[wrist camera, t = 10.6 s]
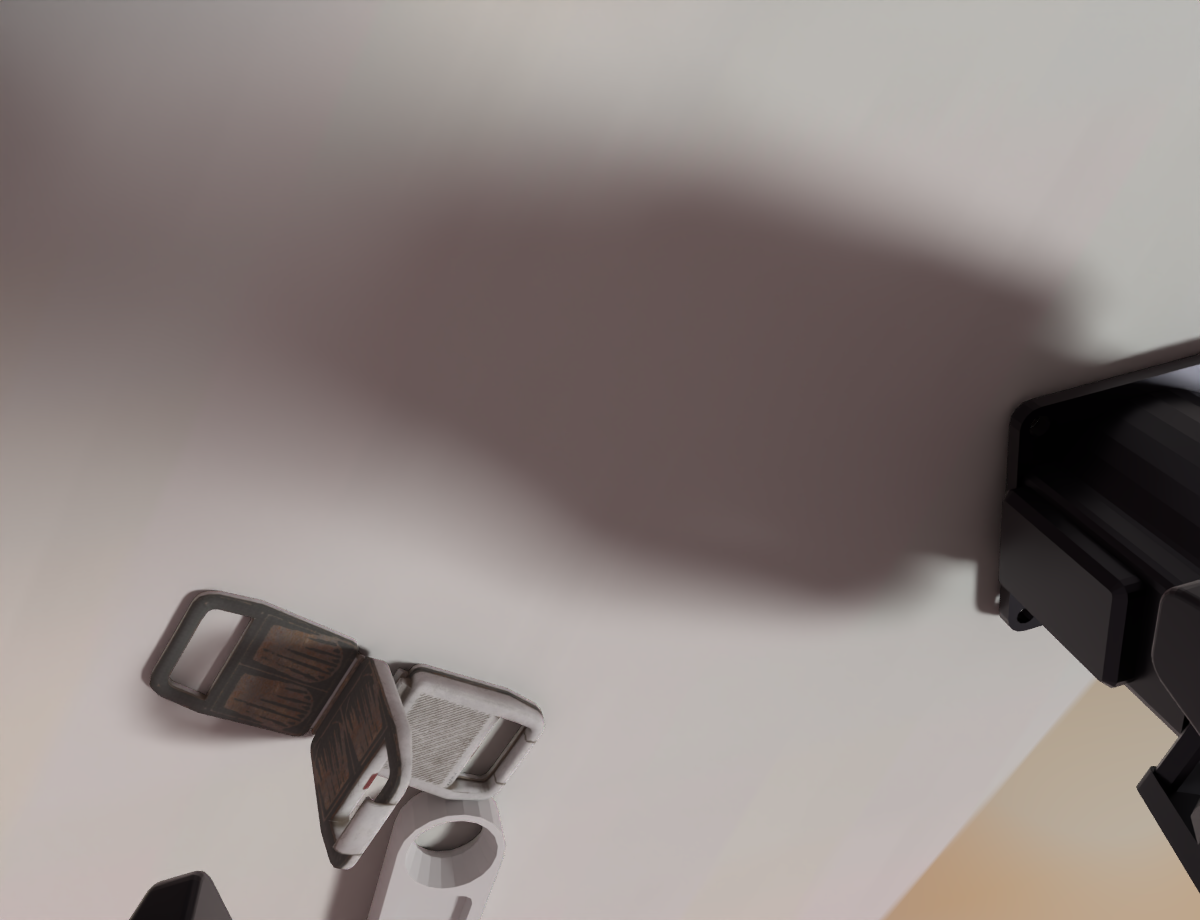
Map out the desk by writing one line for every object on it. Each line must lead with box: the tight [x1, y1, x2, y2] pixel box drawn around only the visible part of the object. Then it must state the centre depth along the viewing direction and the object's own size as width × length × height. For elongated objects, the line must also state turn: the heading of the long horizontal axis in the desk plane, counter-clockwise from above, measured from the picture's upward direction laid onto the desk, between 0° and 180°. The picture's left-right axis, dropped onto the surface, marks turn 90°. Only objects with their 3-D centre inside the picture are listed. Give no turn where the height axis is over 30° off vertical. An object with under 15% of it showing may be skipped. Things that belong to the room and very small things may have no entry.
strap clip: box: [150, 591, 545, 869], centre depth 21 cm, size 8×3×4 cm, turn 56°
